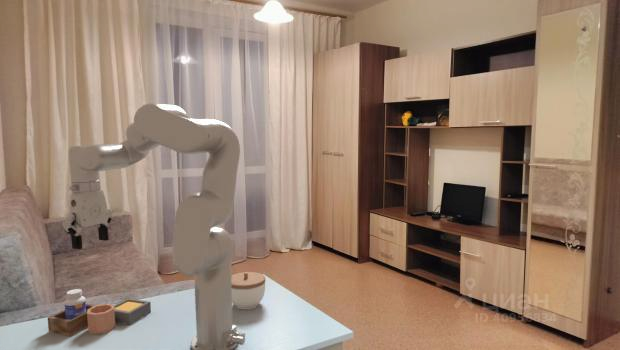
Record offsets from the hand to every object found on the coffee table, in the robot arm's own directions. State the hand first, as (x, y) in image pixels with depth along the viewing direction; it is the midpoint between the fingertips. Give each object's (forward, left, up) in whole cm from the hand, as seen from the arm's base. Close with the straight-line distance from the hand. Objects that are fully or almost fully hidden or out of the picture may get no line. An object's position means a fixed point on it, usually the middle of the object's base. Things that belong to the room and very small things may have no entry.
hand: (91, 244), depth 124 cm
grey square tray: (-7, -6, -24) cm, 26 cm away
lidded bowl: (-38, -25, -24) cm, 51 cm away
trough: (+3, +4, -24) cm, 25 cm away
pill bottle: (+3, +4, -23) cm, 24 cm away
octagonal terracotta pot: (-6, +3, -24) cm, 25 cm away
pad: (-7, -6, -22) cm, 24 cm away
